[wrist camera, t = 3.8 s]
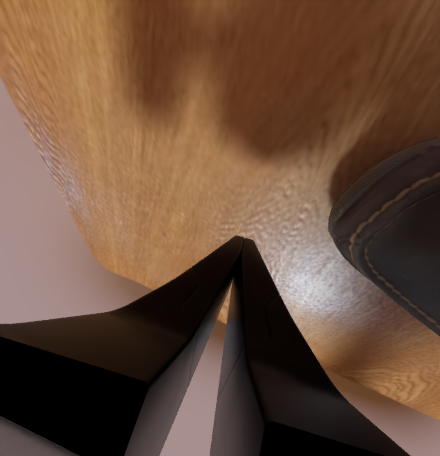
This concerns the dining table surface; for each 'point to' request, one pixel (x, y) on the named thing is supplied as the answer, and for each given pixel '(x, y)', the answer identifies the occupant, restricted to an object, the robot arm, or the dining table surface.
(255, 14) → the dining table surface
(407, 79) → the dining table surface
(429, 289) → the boat shoe
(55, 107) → the dining table surface
